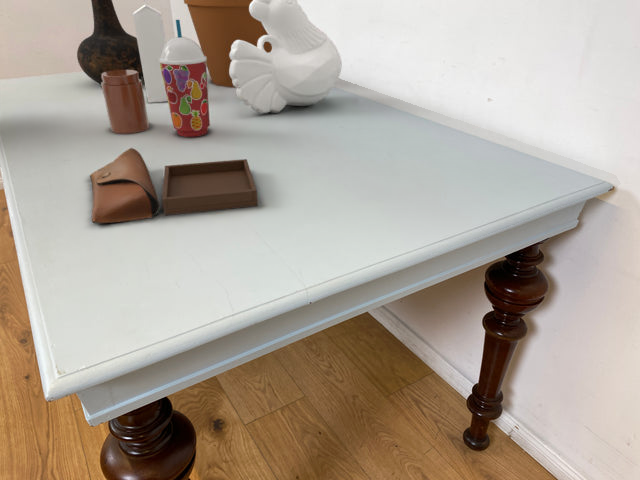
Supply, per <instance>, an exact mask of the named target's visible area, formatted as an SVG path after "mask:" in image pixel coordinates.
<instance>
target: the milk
mask: <svg viewBox="0 0 640 480" xmlns="http://www.w3.org/2000/svg"><path fill="white" fill-rule="evenodd" d="M132 19H133V25H134V30H135V35H136V36H135V37H136V38H137V42H138V47H139V53H140V59H141V64H142V70H143V80H144V86H145V92H146V97H147V98H146V99H147V102H148V103H150V104H151V103H152V104H153V103H165V102H167V103H168V99H167V95H166V90H165V85H164V81H163V76H162V72H161V67H160V62H159V58H160V56H161V52H162V49H163V47H164V45H165V44H166V43H167V41H166V35H165V29H164V28H165V27H164V23H163V22H164V21H163V17H162V12H161V11H160V10H158V9H157V8H155V7H153V6H151V5H150V4H148V3H147V0H144V5H142V6H141V7H139V8H138V9H136V10H135V11H134V12H133V13H132Z"/></svg>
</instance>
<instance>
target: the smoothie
mask: <svg viewBox="0 0 640 480" xmlns="http://www.w3.org/2000/svg"><path fill="white" fill-rule="evenodd" d="M175 25H176V33H177V36H175V37H172V38H170V39H169V40H168V41H166V44H165V45H164V47H163V49H162V52H161V56H160V58H159V62H160V67H161V72H162V76H163V81H164V85H165V90H166V95H167V99H168V101H167V103H168V108H169V113H170V118H171V122H172V126H173V129H174V130H176V133H177V135H178V136H181V137H185V138H195V137H196V138H197V137H201V136H204V135H206V134H207V133H208V131H209V127H210V126H211V124H210V103H209V86H208V68H207V64H206V58H207V57H206V56H204V54H203V52H202V49H201V46H200V44H198V43H197V42H195V41H194V40H193V39H191V38H189V37H186V36H182V28H181V27H182V26H181V20H180V19H175Z"/></svg>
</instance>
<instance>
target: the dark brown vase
mask: <svg viewBox="0 0 640 480" xmlns="http://www.w3.org/2000/svg"><path fill="white" fill-rule="evenodd" d="M90 1H91V8H92V15H93V16H92V17H93V31H92V34H91V35H90V36H87V37H86V38H85V39H83V40H82V41H81V42H80V43H79V46H78V48H77V51H76V59H77V61H78V65H79V67H80V69H81V70H82V71H83V72H84V73H85V75H86V76H88V78H90V79H91V80H92V81H93V82H95V83H98V84H100V85H101V82H103V80H102V78H101V77H102V75H101V74H102V73H104V72H107V71H113V70H135V71H137V72H138V78H139V79H140V80H142V78H144V76H143V70H142V64H141V59H140V53H139V47H138V42H137V36H134V35H131V34H129V33H128V32H126V30H125V29H124V28H123V26H122V24H121V22H120V20H119V17H118V15H117V12H116V9H115V6H114V3H113V0H90Z"/></svg>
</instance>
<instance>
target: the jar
mask: <svg viewBox="0 0 640 480" xmlns="http://www.w3.org/2000/svg"><path fill="white" fill-rule="evenodd" d="M101 75H102V77H101V78H102V80H103V82H101V84H100V86H101V90H102V94H103V100H104V103H105V109H106V113H107V118H108V122H109V126H110V131H111V132H112V133H114V134H123V135H124V134H125V135H128V134H137V133H142V132H145V131H147V130H148V129H150V122H149V117H148V110H147V104H146V99H145V93H144V88H143V82H142V79H139V78H138V72H137V71H135V70H113V71H107V72H104V73H102V74H101Z"/></svg>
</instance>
